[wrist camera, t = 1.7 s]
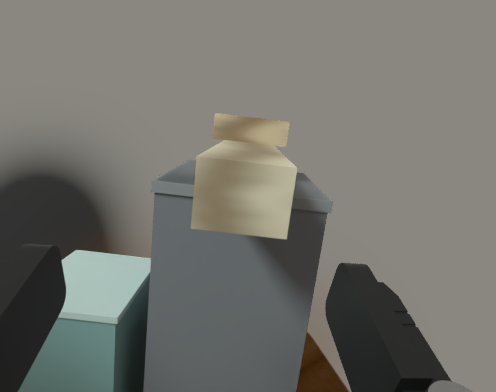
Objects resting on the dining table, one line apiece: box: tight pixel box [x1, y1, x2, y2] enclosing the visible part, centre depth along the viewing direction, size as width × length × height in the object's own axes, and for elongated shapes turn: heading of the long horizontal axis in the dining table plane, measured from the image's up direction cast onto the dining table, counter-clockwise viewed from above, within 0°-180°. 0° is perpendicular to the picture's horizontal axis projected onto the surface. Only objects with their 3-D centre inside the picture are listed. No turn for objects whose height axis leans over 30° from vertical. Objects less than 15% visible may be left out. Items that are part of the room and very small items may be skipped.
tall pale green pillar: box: [18, 250, 151, 392], centre depth 31 cm, size 8×10×22 cm
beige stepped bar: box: [191, 113, 297, 240], centre depth 24 cm, size 6×22×5 cm, turn 179°
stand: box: [143, 160, 333, 392], centre depth 32 cm, size 12×13×32 cm
